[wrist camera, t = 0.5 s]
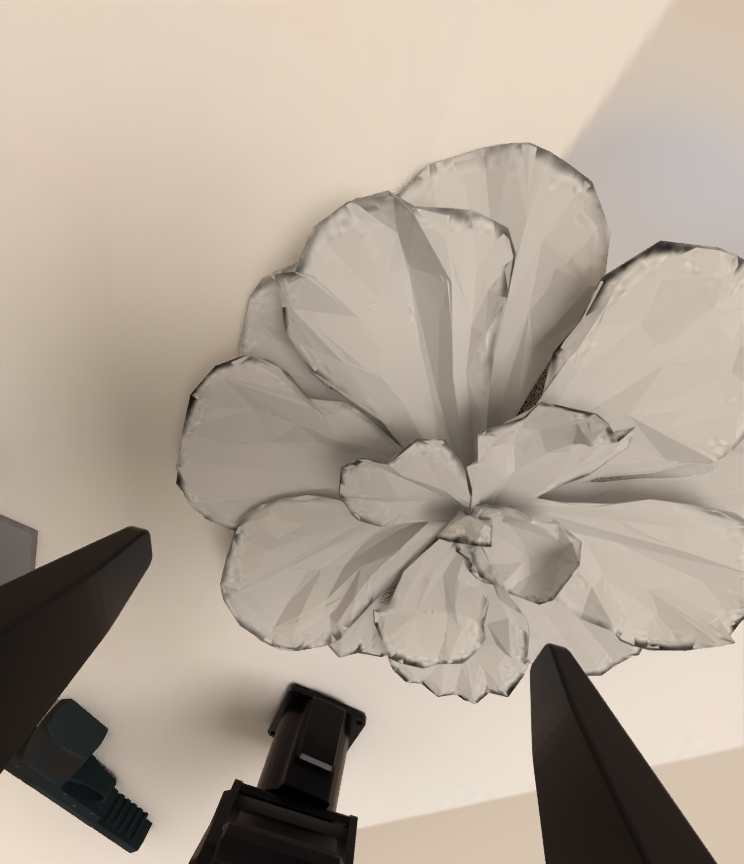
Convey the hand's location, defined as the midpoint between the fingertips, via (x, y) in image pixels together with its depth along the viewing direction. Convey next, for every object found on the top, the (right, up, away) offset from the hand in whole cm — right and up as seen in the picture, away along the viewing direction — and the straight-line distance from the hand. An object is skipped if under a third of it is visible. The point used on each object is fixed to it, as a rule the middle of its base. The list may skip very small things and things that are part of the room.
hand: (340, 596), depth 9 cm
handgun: (-26, -30, +32) cm, 51 cm away
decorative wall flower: (+6, +1, +15) cm, 16 cm away
